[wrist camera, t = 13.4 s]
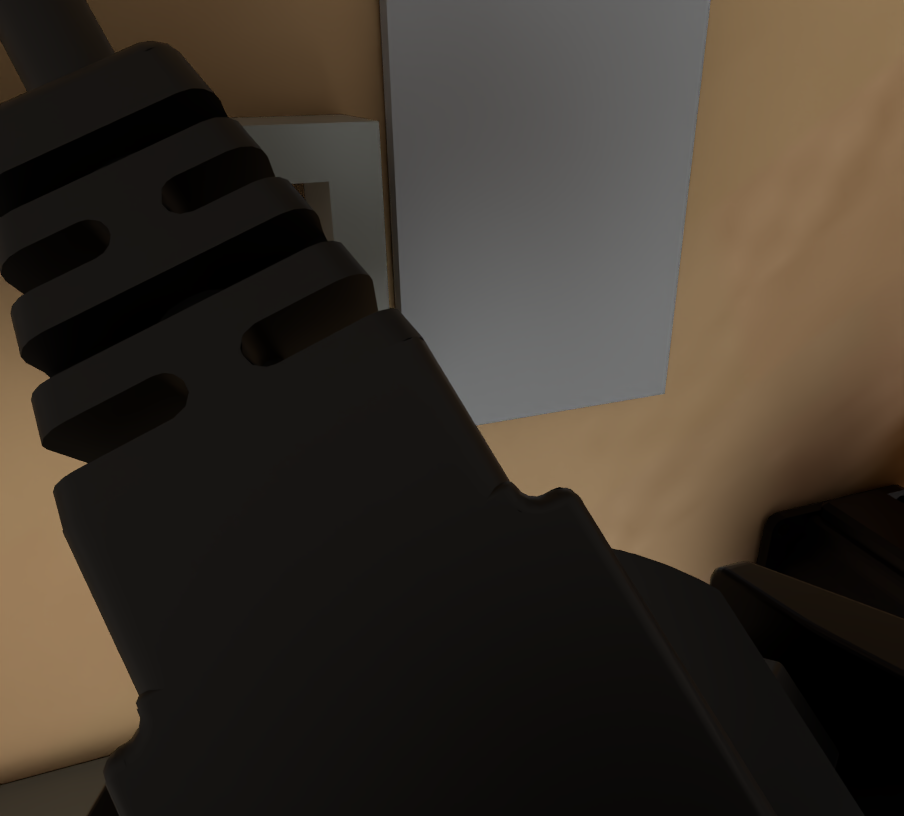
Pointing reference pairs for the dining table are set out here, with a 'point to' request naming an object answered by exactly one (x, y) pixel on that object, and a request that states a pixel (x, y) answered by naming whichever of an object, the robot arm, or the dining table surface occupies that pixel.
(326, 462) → the power plug
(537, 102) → the mat
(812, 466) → the dining table surface
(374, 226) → the case
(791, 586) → the robot arm
